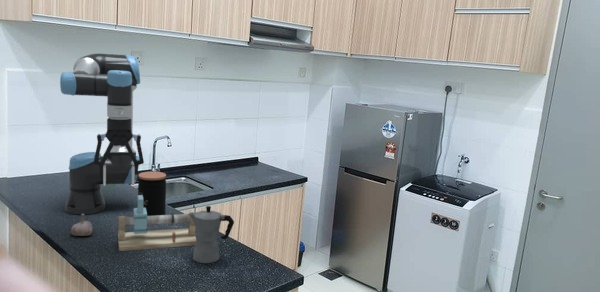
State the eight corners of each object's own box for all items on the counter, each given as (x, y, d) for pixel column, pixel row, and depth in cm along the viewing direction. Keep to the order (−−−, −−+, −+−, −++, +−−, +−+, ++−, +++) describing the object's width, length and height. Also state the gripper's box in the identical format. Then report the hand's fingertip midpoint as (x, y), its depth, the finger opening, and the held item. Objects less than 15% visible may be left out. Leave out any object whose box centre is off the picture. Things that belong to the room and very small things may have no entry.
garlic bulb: (96, 236, 168) (96, 215, 166) (74, 240, 163) (74, 218, 162) (89, 229, 174) (89, 209, 172) (67, 233, 169) (67, 212, 167)
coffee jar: (135, 214, 193) (136, 171, 189) (162, 212, 198) (163, 170, 194) (139, 223, 183) (140, 178, 180) (167, 220, 188) (168, 177, 185)
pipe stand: (118, 236, 169) (118, 211, 167) (191, 231, 179) (192, 207, 177) (118, 251, 157) (119, 223, 155) (197, 245, 167) (198, 219, 165)
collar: (133, 226, 167) (133, 194, 165) (145, 226, 169) (145, 194, 166) (134, 234, 161) (134, 200, 159) (146, 233, 162) (147, 200, 160)
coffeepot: (182, 260, 154) (183, 208, 150) (192, 249, 163) (194, 199, 159) (227, 267, 152) (230, 213, 148) (235, 255, 161) (238, 205, 158)
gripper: (83, 118, 148) (84, 188, 152) (153, 120, 156) (152, 186, 160) (84, 115, 154) (85, 182, 158) (151, 117, 162) (150, 180, 166)
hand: (118, 184), depth 159 cm, fingers open, 8 cm apart
